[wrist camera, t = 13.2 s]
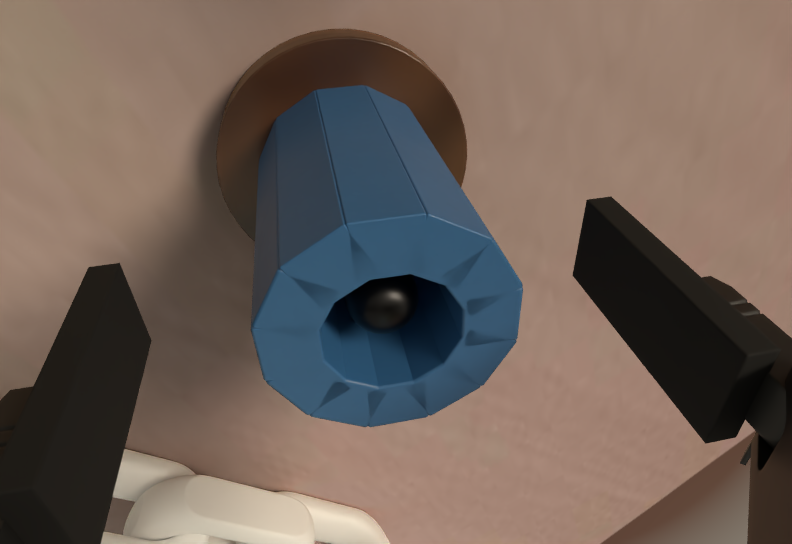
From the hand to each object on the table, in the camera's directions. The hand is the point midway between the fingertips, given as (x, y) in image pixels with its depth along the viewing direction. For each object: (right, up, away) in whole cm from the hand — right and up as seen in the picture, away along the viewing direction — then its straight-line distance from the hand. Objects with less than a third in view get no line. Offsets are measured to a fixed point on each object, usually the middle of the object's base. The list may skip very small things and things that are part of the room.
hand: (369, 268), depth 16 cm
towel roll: (-1, +4, +6) cm, 7 cm away
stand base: (-1, +5, +7) cm, 9 cm away
